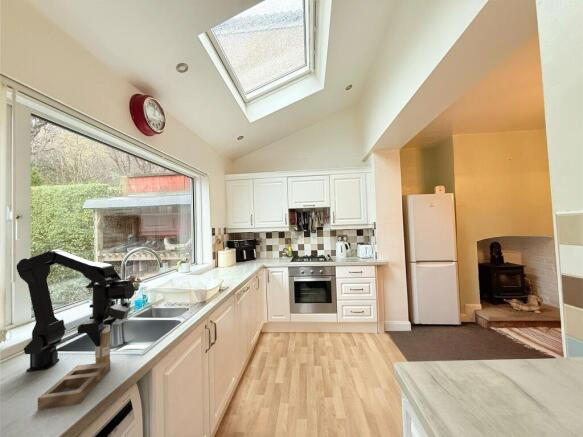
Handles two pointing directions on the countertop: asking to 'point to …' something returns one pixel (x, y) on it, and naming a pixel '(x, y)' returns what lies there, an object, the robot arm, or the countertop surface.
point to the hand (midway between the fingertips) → (102, 342)
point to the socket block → (74, 385)
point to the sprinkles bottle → (103, 347)
